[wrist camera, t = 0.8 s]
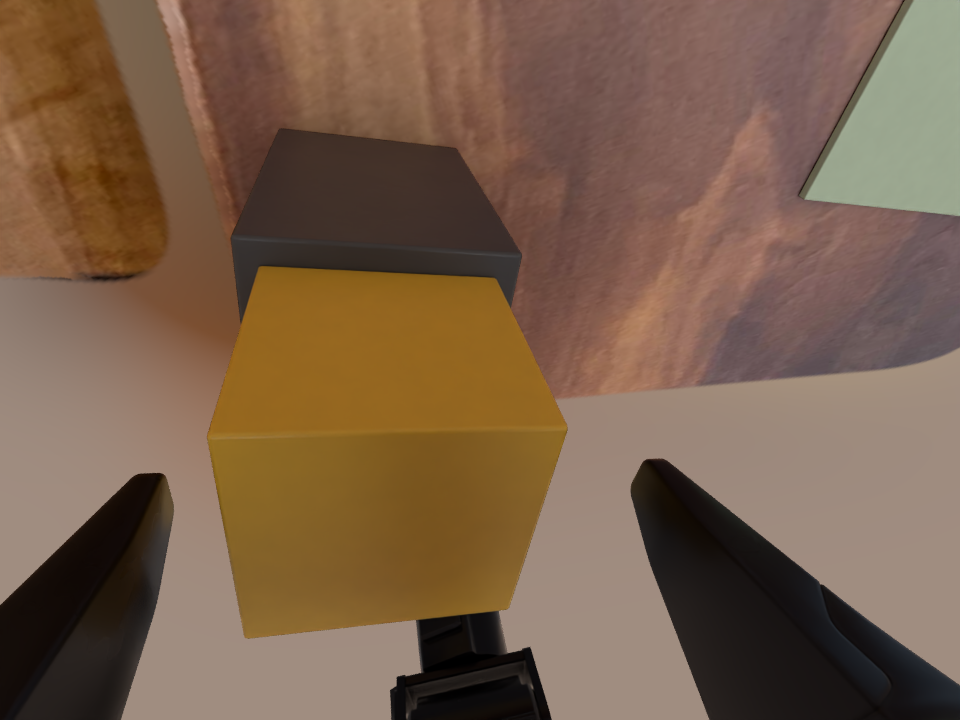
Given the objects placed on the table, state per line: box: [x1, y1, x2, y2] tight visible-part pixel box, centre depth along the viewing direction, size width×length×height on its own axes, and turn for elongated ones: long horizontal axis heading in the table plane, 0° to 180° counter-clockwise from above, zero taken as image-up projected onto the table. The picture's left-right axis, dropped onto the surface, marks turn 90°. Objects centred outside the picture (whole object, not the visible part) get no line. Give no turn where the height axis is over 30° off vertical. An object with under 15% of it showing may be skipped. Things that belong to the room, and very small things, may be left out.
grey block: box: [231, 129, 522, 323], centre depth 16 cm, size 6×6×9 cm
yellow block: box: [207, 266, 567, 639], centre depth 11 cm, size 5×5×5 cm
